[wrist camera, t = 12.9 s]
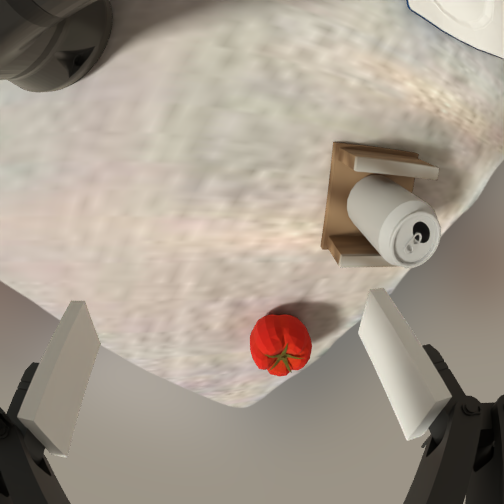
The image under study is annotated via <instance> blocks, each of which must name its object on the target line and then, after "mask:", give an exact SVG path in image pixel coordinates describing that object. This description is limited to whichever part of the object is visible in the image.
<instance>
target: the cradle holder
mask: <svg viewBox="0 0 504 504" xmlns="http://www.w3.org/2000/svg"><path fill="white" fill-rule="evenodd" d="M418 156H419V154H417V153H414V152H408V151H401V150H395V149H388V148H380V147H373V146H365V145H356V144H347V143H338V142H333V151H332V160H331V170H330V179H329V187H328V195H327V203H326V211H325V219H324V226H323V233H322V240H321V248H322V249H329V251H330V252H331V254H332V255H333V257H334V259H335V260H336V262H337V264H338V265H339V267H340V268H352V267H393V266H395V265H391V264H390V263H388V262H387V261H386V260H384V258H383V257H382V256H381V255H380V254H379V252H378V251H377V250H376V249H375V248H374V247H373V245H372V244H371V243H370V242H369V241H368V240H367V238H366V237H365V236H364V235H363V234H362V233H361V231H360V230H359V229H358V228H357V227H356V226H355V225H354V224H353V222H352V221H351V219H350V218H349V215H348V211H347V199H348V197H349V194H350V191H351V190H352V188H353V187H354V186H355V184H356V183H357V182H359V181H360V180H361V179H363V178H364V177H367V176H370V175H382V176H384V177H387V178H389V179H391V180H392V181H394V182H395V183H397V184H399V185H400V186H402V187H403V188H405V189H406V190H408V191H409V192H411V193H412V191H413V185H414V180H415V178H423V179H430V180H437V178H438V173H439V168H437V167H435V166H433V165H431V164H429V163H427V162H424V161H422V160H420V159H418Z"/></svg>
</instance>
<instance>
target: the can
mask: <svg viewBox="0 0 504 504" xmlns="http://www.w3.org/2000/svg"><path fill="white" fill-rule="evenodd" d="M347 211H348V215H349V218H350V219H351V221H352V222H353V224H354V225H355V226H356V227H357V228H358V229H359V230H360V231H361V233H362V234H363V235H364V236H365V237H366V238H367V240H368V241H369V242H370V243H371V244H372V245H373V247H374V248H375V249H376V250H377V251H378V252H379V254H380V255H381V256H382V257H383V258H384V260H386V261H387V262H388V263H390V264H391V265H395V266H400V267H404V268H413V267H416V266H419V265H421V264H423V263H424V262H425V261H427V260H428V259H429V258H430V257H431V256H432V255H433V253H434V252H435V250H436V248H437V246H438V244H439V241H440V236H441V229H440V225H439V222H438V219H437V216H436V214H435V211H434V210H433V208H432V207H431V206H430V205H429V204H427V203H426V202H425V201H423V200H422V199H420V198H419V197H417V196H416V195H414V194H413V193H411V192H409V191H408V190H406V189H405V188H403V187H402V186H400V185H399V184H397V183H395V182H394V181H392V180H391V179H389V178H387V177H384V176H382V175H370V176H367V177H364V178H363V179H361V180H360V181H359V182H357V183H356V184H355V186H354V187H353V188H352V190H351V191H350V194H349V197H348V199H347Z"/></svg>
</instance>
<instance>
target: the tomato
mask: <svg viewBox="0 0 504 504" xmlns="http://www.w3.org/2000/svg"><path fill="white" fill-rule="evenodd" d="M311 349H312V344H311V339H310V336H309V333H308V331H307V329H306V327H305V326H304V324H303V323H302V322H301V321H300V320H299V319H298V318H296V317H294V316H292V315H286V314H283V315H273V314H271V315H267V316H264V317H263V318H261V319H259V320H258V321H257V323H256V325H255V327H254V329H253V330H252V332H251V335H250V350H251V354H252V358H253V359H254V361H255V363H256V365H257V366H258V368H259V369H263V370H265V369H267V370H268V372H269V373H270V374H272V375H277V376H285V375H287V374H288V373H289V372H291V370H299V369H301V368H303V367H304V366H305V364H306V363H307V362H308V360H309V359H310V354H311ZM291 373H292V372H291Z"/></svg>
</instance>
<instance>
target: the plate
mask: <svg viewBox="0 0 504 504" xmlns="http://www.w3.org/2000/svg"><path fill="white" fill-rule="evenodd" d="M406 1H407V6H408V8H409V9H410V10H411V11H412V12H414V13H416V14H417V15H419V16H420V17H422V18H423V19H425V20H426V21H428V22H429V23H431V24H432V25H434V26H435V27H437V28H438V29H440V30H441V31H443V32H445V33H447V34H448V35H450V36H452V37H454V38H456V39H457V40H459V41H461V42H463V43H465V44H467V45H469V46H471V47H473V48H475V49H478V50H481V51H484V52H486V53H489V54H492V55H494V56H497V57H499V58H502V59H504V0H406Z"/></svg>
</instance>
